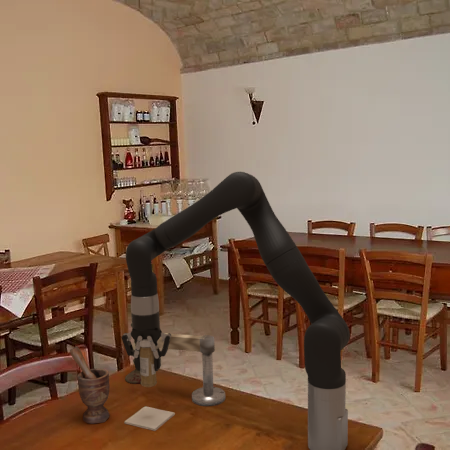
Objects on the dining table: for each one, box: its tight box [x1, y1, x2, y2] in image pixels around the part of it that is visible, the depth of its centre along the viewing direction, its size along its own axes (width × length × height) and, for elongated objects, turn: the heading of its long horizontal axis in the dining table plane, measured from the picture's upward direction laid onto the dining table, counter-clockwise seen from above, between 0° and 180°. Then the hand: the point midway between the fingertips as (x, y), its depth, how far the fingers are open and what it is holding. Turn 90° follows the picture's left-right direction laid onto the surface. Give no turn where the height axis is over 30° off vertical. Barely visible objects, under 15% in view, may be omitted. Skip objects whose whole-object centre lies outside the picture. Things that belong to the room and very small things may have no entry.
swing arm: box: [157, 332, 216, 354], centre depth 173 cm, size 24×4×4 cm, turn 74°
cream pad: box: [124, 405, 176, 432], centre depth 161 cm, size 10×10×1 cm
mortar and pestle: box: [69, 346, 110, 424], centre depth 161 cm, size 12×9×20 cm
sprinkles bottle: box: [140, 339, 158, 388], centre depth 158 cm, size 5×5×14 cm
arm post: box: [191, 353, 226, 407], centre depth 172 cm, size 10×10×14 cm
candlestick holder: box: [124, 322, 141, 385], centre depth 186 cm, size 9×9×30 cm
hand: (148, 369), depth 159 cm, fingers closed on sprinkles bottle, 4 cm apart
